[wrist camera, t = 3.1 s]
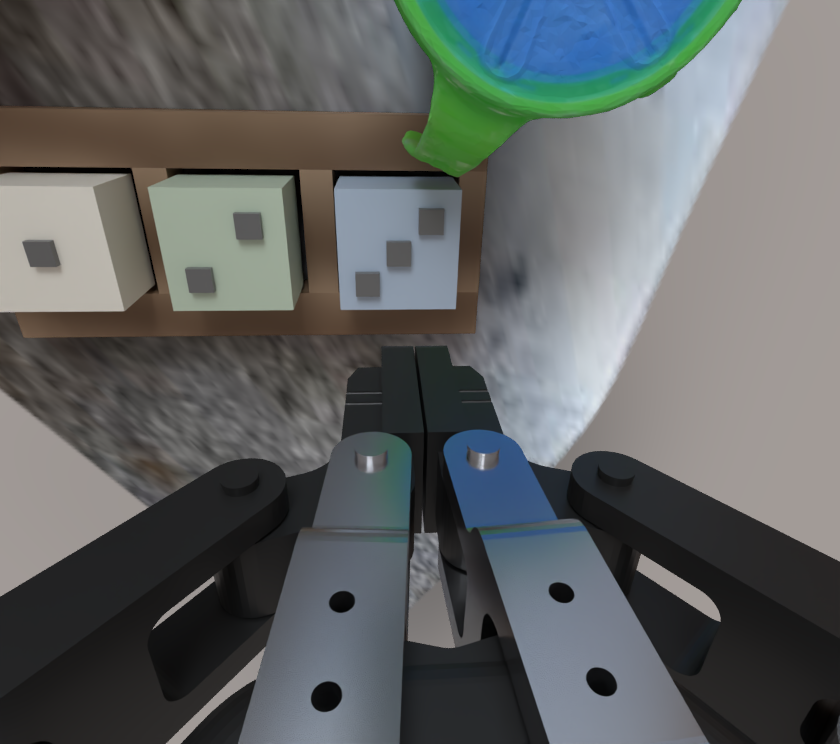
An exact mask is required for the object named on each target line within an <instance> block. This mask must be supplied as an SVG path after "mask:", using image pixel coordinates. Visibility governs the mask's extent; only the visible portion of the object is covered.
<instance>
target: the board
mask: <svg viewBox="0 0 840 744" xmlns="http://www.w3.org/2000/svg"><path fill="white" fill-rule="evenodd" d="M428 118H429V113H379V112H324V111H268V110H213V109H158V108H103V107H48V106H0V174H4V173H9V172H24V169H23V167H107V168H132V172H133V176H134V181H135V185H136V190H137V195H138V199H139V204H140V208H141V213H142V217H143V222H144V226H145V231H146V235H147V240H148V245H149V249H150V254H151V258H152V263H153V267H154V272H155V276H156V280H155V285H154V286H153V287H152V288H150V289H149V290H148V291H147V292H146V293H145V294H144V295H143V296H141V297H140V298H139V299H138V300H137V301H136V302H135V303H133V304H132V305H131V306H130V307H129V308H128V309H127V310H125V311H94V312H15V315H16V317H17V320H18V323H19V326H20V329H21V331H22V334H23V337H24V338H46V337H150V336H254V335H358V334H461V333H475V329H476V315H477V302H478V288H479V275H480V261H481V247H482V234H483V220H484V206H485V193H486V179H487V165H488V157H487V158H486V159H484V160H483V161H482V162H481V163H480V164H479V165H478V166H477V167H475V168H473V169H472V170H470V171H468V172H466V173H465V174H463V175H461V176H459V177H454V180H455V182H456V183H457V184H458V185H459V187H460V188H461V189H462V203H461V221H460V240H459V259H458V277H457V296H456V309H399V310H341V308H340V289H339V271H338V252H337V234H336V216H335V197H334V188H335V186H336V170H384V171H443V170H441V169H439V168H436V167H433V166H432V165H430V164H429V163H426V162H422V161H420V160H418V159H416V158H415V157H413V156H411V155H410V154H409V153H408V152H407V150H406V149H405V148H404V145H403V143H402V139H403V137H404V136H405V134H406V132H408V131H416V132H419V133H421V134H423V131H424V129H425V127H426V125H427V123H428ZM182 168H199V169H291V170H299V173H300V186H301V198H302V210H303V222H304V234H305V246H306V259H307V271H308V280H304V284H303V287H302V290H301V292H300V295H299V297H298V300H297V303H296V305H295V308H294V310H246V311H173V306H172V301H171V296H170V292H169V287H168V282H167V277H166V273H165V268H164V263H163V258H162V254H161V249H160V244H159V239H158V235H157V230H156V225H155V220H154V216H153V211H152V206H151V201H150V197H149V192H148V187H149V186H152V185H154V184H156V183H159V182H161V181H163V180H165V179H168V178H170V177H172V176H175V175H177V174H183V170H182Z"/></svg>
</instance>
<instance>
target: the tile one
mask: <svg viewBox="0 0 840 744" xmlns="http://www.w3.org/2000/svg"><path fill="white" fill-rule="evenodd" d="M154 285H155V280H154V276H153V271H152V267H151V262H150V258H149V253H148V249H147V244H146V240H145V235H144V231H143V226H142V222H141V217H140V213H139V208H138V204H137V199H136V195H135V190H134V186H133V181H132V177H131V173H33V172H9V173H4V174H0V312H94V311H125V310H127V309H128V308H129V307H130V306H131V305H132V304H133V303H135V302H136V301H137V300H138V299H139V298H140V297H141V296H143V295H144V294H145V293H146V292H147V291H148V290H149V289H150V288H152V287H153V286H154Z"/></svg>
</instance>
